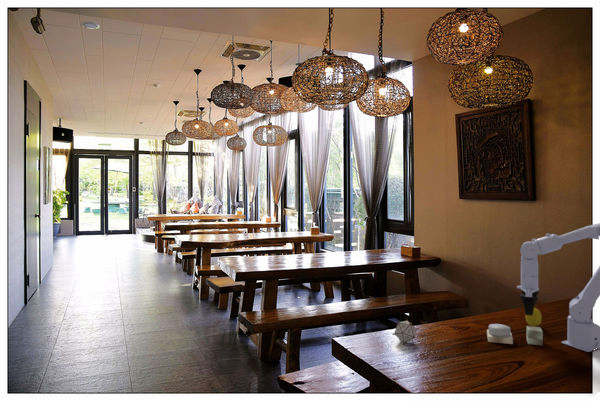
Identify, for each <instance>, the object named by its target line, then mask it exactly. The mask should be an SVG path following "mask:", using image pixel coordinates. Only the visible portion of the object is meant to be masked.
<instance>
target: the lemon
mask: <svg viewBox="0 0 600 401" xmlns="http://www.w3.org/2000/svg"><path fill="white" fill-rule="evenodd" d="M525 320H526V323H527V324H528V326H531V327H539V325H540V324H541V322H542V313H541V311H540V310H539V309H538V308H536V307H535V306H534V311H533V315H532V316H531V315H526V314H525Z"/></svg>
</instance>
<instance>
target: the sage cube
mask: <svg viewBox="0 0 600 401" xmlns="http://www.w3.org/2000/svg"><path fill="white" fill-rule="evenodd" d="M525 329H526V330H525V332H526V342H527V344H528V345H536V346H543V345H544V344H543V342H544V340H543V339H544V337H543V336H544V331H543V329H542V328H541V327H540V326H535V327H532V326H531V325H526V328H525Z"/></svg>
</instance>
